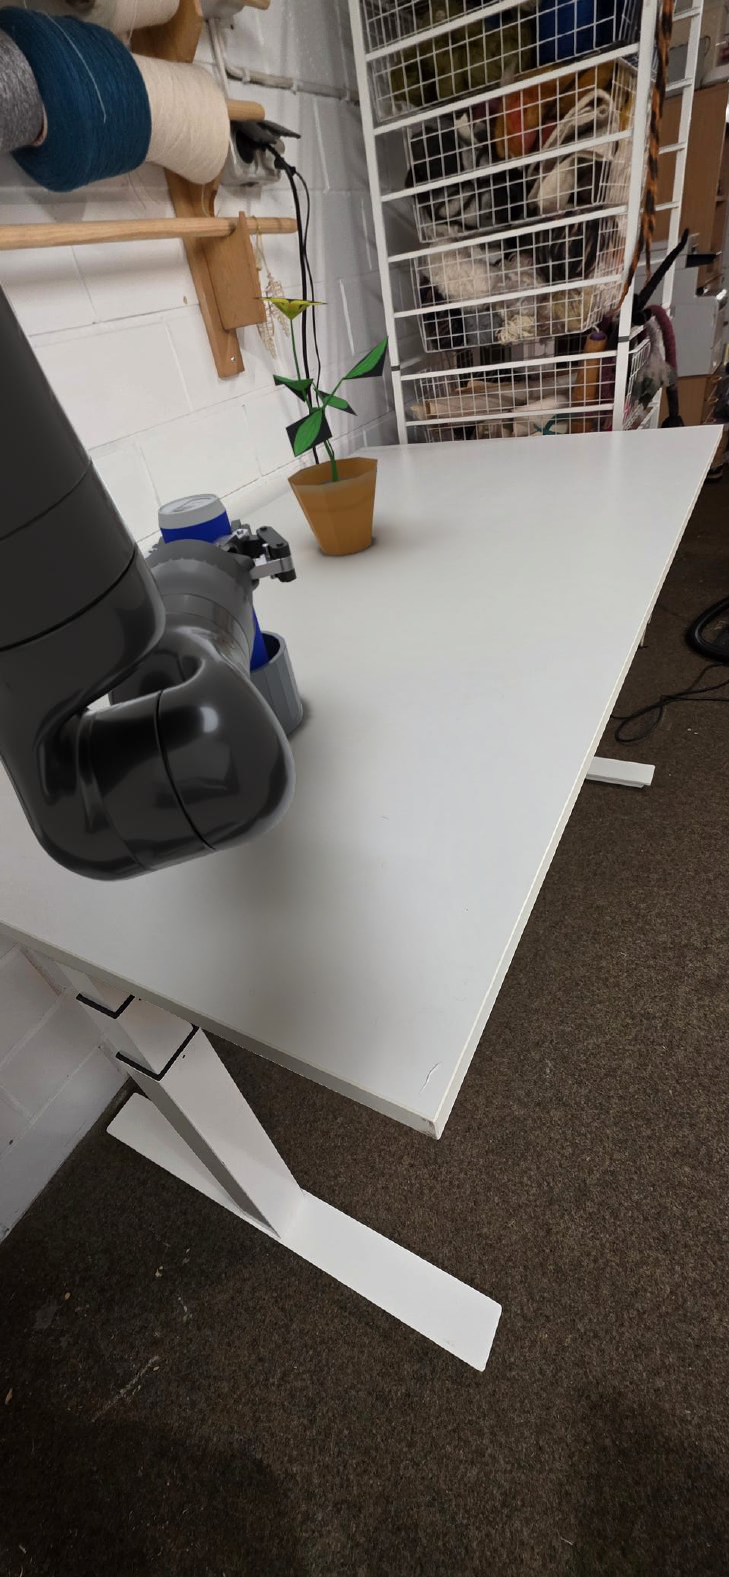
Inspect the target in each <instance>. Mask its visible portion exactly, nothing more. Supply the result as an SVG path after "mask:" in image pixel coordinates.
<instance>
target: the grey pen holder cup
mask: <svg viewBox="0 0 729 1577" xmlns="http://www.w3.org/2000/svg"><path fill="white" fill-rule="evenodd" d="M260 630H261V629H260ZM261 634H262V637H263V641H264V644H265V648H266V651H267V655H268V658H269V662H267V663H266V664H264V665H263V666H261V667H260V668H257V669H255V670H253V671H250V679H251V682H252V683H253V684H254V686H255V687H256V688H257V689H258V691H259V692H260V693H261V695H262V696H263V697H264V699H265V700H266V701H267V703H268V704H269V706H270V707H271V709H272V711H273V713H274V714H275V716H276V718H277V719H278V721H279V723H280V725H281V727H282V729H283V731H284V733H285V735H286V737H288V736H289V735H290V734H292V733H293V732H294V731H295V730H296V729H297V728H298V726H299V725H300V724H301V722H302V721H303V717H304V709H303V705H302V700H301V696H300V692H299V688H298V685H297V684H298V683H297V682H296V678H295V677H296V676H295V673H294V669H293V665H292V662H291V658H290V653H289V650H288V647H287V643H286V640H285V638H284V637H283V636H281V635H280V634H279V633H277V632H273V631H269V630H263V629H262V630H261Z"/></svg>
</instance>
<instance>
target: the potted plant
mask: <svg viewBox="0 0 729 1577" xmlns="http://www.w3.org/2000/svg"><path fill="white" fill-rule="evenodd" d="M253 299H254V300H259V301H266V302H271V303H272V304H273V305H274V306H275V307H276V308H277V309H278V310H279V311H280V312H281V313H282V314H283V315H284V316H285V317H286V318H287V319H289V322H290V334H291V335H290V336H291V344H292V355H293V358H294V364H295V371H296V375H297V379H291V378H288V377H284V376H281V375H277V374H272V378H273V382H274V386H275V387H278V386H282V385H284V386H285V387H286V388H287V389H288V390H289V391H291V393H293V394H294V395H295V396H296V397H298V399H299V400H300V401H302V402H303V403H305V404H306V406H307V408H308V410H309V412H310V413H309V414H307V415H305V416H304V417H302V418H300V419H298V420H296V421H294V422H293V423H291V424H289V425H288V426H285V431H286V434H287V437H288V442H289V444H290V446H291V450H292V453H293V457H294V458H297V457H299V456H301V455H302V454H304V453H307V452H308V451H310V450H312V449H313V448H315V447H318V446H319V445H321V444H323V445H324V448H325V450H326V453H327V455H328V457H329V460H325V461H324V462H320V463H316V464H313V465H310V466H307V467H304V468H301V469H299V470H297V471H296V472H295V473H293V474H292V475H290V476H289V477H288V478H287V482H288V484H289V486H290V488H291V490H292V492H293V494H294V496H295V499H296V500H297V502H298V504H299V506H300V508H301V511H302V512H303V515H304V517H305V519H306V521H307V523H308V525H309V527H310V529H311V531H312V533H313V535H314V537H315V540H316V541H317V544H318V546H319V548H320V549H321V550H320V551H322V552H323V553H324V555H326V556H344V555H350V554H354V553H359V552H360V551H362V550H364V549H366V548H368V547H369V546H371V545H372V533H373V522H374V509H375V499H376V487H377V475H378V464H379V463H378V462H379V459H377V458H370V457H361V456H356V457H355V456H354V457H347V458H340V459H335V456H334V454H333V452H332V450H331V448H330V446H329V443H328V440H330V439H332V438H334V436H333V434H332V431H331V428H330V425H329V422H328V419H327V416H326V408H327V406H329V407H332V408H334V409H336V410H339V411H343V412H345V413H347V414H350V415H353V416H356V417H358V414H357V413H356V412H355V410H354V409H353V408H352V406H351V405H350V404H349V403H348V402H347V400H346V399H344V398H342V397H339V396H336V395H335V393H336V392H337V390H338V389H339V387H340V386H341V384H342V382H343V381H346V380H347V381H349V380H357V379H366V378H367V379H368V378H377V377H383V373H384V367H385V361H386V355H387V349H388V344H389V343H388V342H389V336H390V335H387V336H386V337H385V338H384V339H383V340H382V341H381V342H380V343H378V344H377V345H376V346H375V347H374V348H372V350H371V351H369V352H368V353H367V354H366V355H365V356H364V357H362V359H361V360H360V361H358V362H357V363H356V364H355V365H354V367H352V369H351V370H350V371H349V372H348V373H347V374H346V375H345V376H343V377H342V378H341V379H340V380H339V381H338V382H337V385H336V386H335V387H334V389H333V390H332V392H331V393H328V392H326V391H323V390H320V389H318V388H317V386H316V384H315V382H314V380H315V378H304V379H303V378H301V372H300V367H299V361H298V356H297V351H296V350H297V349H296V342H295V334H294V326H293V320H294V319H296V318H297V317H298V316H300V314H301V313H303V312H304V311H305V310H306V309H307V308H309V307H310V306H323V305H329V303H327V302H321V301H315V300H310V299H309V300H308V299H298V298H286V297H271V296H264V297H262V296H261V297H253ZM312 386H313V387H312ZM311 387H312V389H313V391H314V392H315V394H316V395H317V396H318V397H319V399H320V401H321V403H322V406H311V403H310V400H309V398H308V396H309V392H310V390H311Z"/></svg>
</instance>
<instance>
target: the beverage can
mask: <svg viewBox="0 0 729 1577" xmlns="http://www.w3.org/2000/svg"><path fill="white" fill-rule="evenodd" d="M157 518H158V519H157V521H158V528H159V530H160V533H161V536H163V539H164V542H165V544H167V543H170V542H173V541H177V540H184V539H193V540H201V541H205V542H208V543H211V544H212V543H213V542H214V541H215V540H216V539H217V538H218V537H219V536H225V535H231V533H230V531H231V521H230V518H229V516H228V511H227V508H226V507H225V505H224V504H223V502H222V500H221V499H220V497H219V495H217V494H216V493H199V494H194V495H188V496H183V497H181V498H178V499H174V500H172V501H169V502H167V503H164V504H163V505H162V506H160V507H159V508H158V509H157ZM253 617H254V621H255V626H256V634H255V637H254V644H253V652H252V656H251V660H250V671H253V670H255V669H257V668H260V667H261V666H263V665H264V664H266V663H267V662H269V658H268V655H267V651H266V648H265V644H264V641H263V637H262V634H261V627H260V624H259V620H258V617H257V613H256V610H255V607H254V605H253Z"/></svg>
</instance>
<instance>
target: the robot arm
mask: <svg viewBox="0 0 729 1577" xmlns="http://www.w3.org/2000/svg"><path fill="white" fill-rule="evenodd" d="M230 526H231V531H230V533H231V535H225V536H219V537H218V538H217V539H216V540H215V541H214V542H213V543H212V544H211V543H208V542H205V541H201V540H193V539H184V540H177V541H173V542H170V543H167V544H165V542H164V539H163V536H162V535H161V536H159V539H158V542H156V543H155V544H153V545H152V546H151V548H150V549H148V550H146V551H145V552H144V554H143V552H142V550H141V548H140V547H139V545H138V543H137V541H136V539H135V537H134V535H133V533H132V531H131V529H130V527H129V525H128V524H127V522H126V520H125V518H124V516H123V515H122V512H121V511H120V509H119V506H118V505H117V503H116V501H115V498H114V497H113V495H112V494H111V492H110V490H109V488H108V486H107V484H106V482H105V480H104V478H103V477H102V474H101V473H100V470H99V469H98V467H97V465H96V464H95V462H94V460H93V457H92V456H91V454H90V452H89V450H88V449H87V446H86V445H85V443H84V441H83V440H82V437H81V435H80V433H79V431H78V430H77V428H76V426H75V424H74V422H73V421H72V419H71V416H70V415H69V413H68V411H67V409H66V408H65V406H64V403H63V402H62V400H61V398H60V396H59V394H58V393H57V391H56V389H55V388H54V385H53V383H52V381H51V379H50V377H49V374H48V373H47V371H46V369H45V368H44V365H43V363H42V361H41V359H40V358H39V355H38V353H37V351H36V349H35V347H34V346H33V344H32V341H31V339H30V337H29V335H28V334H27V331H26V329H25V328H24V326H23V324H22V321H21V319H20V318H19V315H18V314H17V312H16V310H15V307H14V305H13V303H12V301H11V299H10V297H9V294H8V293H7V291H6V288H5V286H4V284H3V282H2V280H1V279H0V763H1V764H2V767H3V768H4V771H5V773H6V775H7V777H8V779H9V781H10V784H11V785H12V788H13V790H14V792H15V795H16V797H17V799H18V802H19V805H20V807H21V809H22V811H23V812H22V813H24V817H25V818H26V820H27V822H28V825H29V827H30V829H31V831H32V834H33V835H34V836H35V838H36V840H37V842H38V844H39V845H40V847H41V848H42V849H43V850H44V851H45V853H46V854H47V855H48V856H49V857H50V858H51V860H53V861H54V862H56V863H57V864H58V865H59V866H61V867H63V868H64V869H66V870H68V871H70V872H72V873H74V874H76V875H78V876H81V877H84V878H86V879H89V880H94V881H99V882H110V883H112V882H113V883H114V882H121V881H128V880H132V879H135V878H138V877H142V876H145V875H148V874H151V873H155V872H158V871H160V870H164V869H167V868H170V867H173V866H176V865H180V864H183V863H186V862H189V861H193V860H196V859H199V858H202V857H206V856H209V855H212V854H215V853H218V852H221V851H226V850H229V849H233V848H236V847H239V846H241V845H245V844H247V843H251V842H254V841H256V840H258V839H260V838H262V837H264V836H265V835H267V834H269V833H270V832H271V831H272V830H274V829H275V828H276V827H277V826H278V825H279V824H280V822H281V821H282V819H283V818H284V817H285V816H286V814H287V812H288V810H289V808H290V806H291V804H292V802H293V798H294V795H295V793H296V792H295V791H296V785H297V783H296V782H297V771H296V763H295V759H294V755H293V752H292V749H291V744H290V742H289V740H288V738H287V737H288V736H286V735H285V733H284V731H283V729H282V727H281V725H280V723H279V721H278V719H277V718H276V716H275V714H274V713H273V711H272V709H271V707H270V706H269V704H268V703H267V701H266V700H265V699H264V697H263V696H262V695H261V693H260V692H259V691H258V689H257V688H256V687H255V686H254V684H253V683H252V682H251V679H250V660H251V656H252V652H253V644H254V637H255V634H256V626H255V621H254V617H253V606H254V595H253V593H254V591H255V590H256V589H257V588H258V587H259V585H260V581H261V580H260V579H263V578H267V577H270V579H271V580H275V579H277V580H279V581H280V583H291V582H293V581H295V580H296V579H297V578H298V577H297V573H296V569H295V565H294V564H295V563H294V560H293V556H292V551H291V547H290V544H289V541H288V540H286V539H285V538H284V537H283V535H281V534H280V533H279V532H277V530H276V529H275V528H273V527H272V526H270V525H262V526H260V527H258V528H257V529H255V534H253V533H252V529H251V525H250V524H249V523H243V524H242V522H241V519H240V518H238V519H234V520H231V521H230ZM257 559H258V560H257ZM106 695H107V698H108V702H109V706H105V707H103V708H100V709H96V710H92V708H91V709H90V708H89V706H91V705H93V704H94V703H95V702H97V701H98V700H100V699H102V698H104V697H105V696H106Z"/></svg>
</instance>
